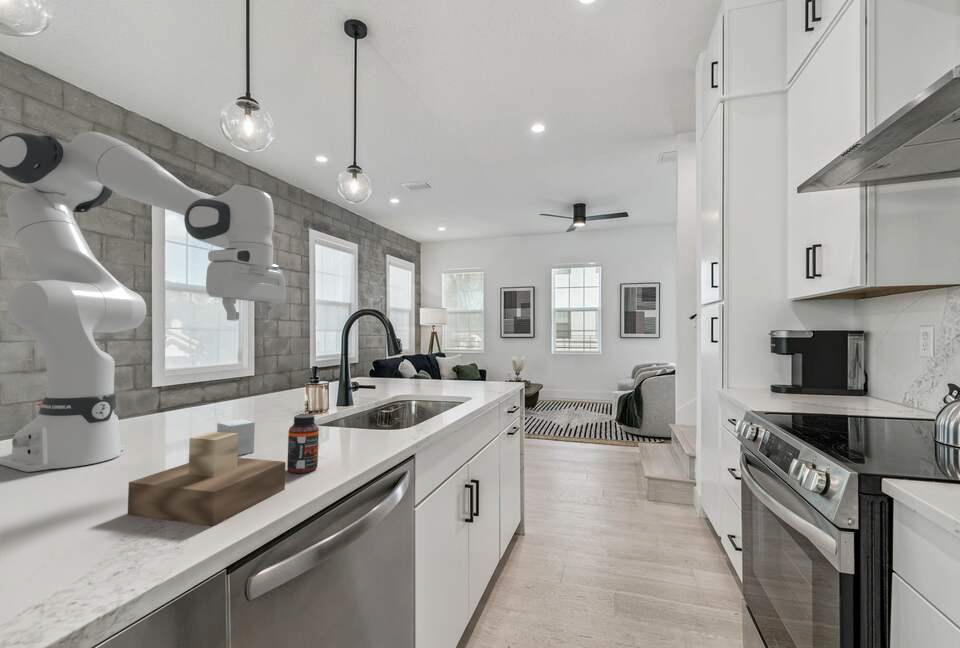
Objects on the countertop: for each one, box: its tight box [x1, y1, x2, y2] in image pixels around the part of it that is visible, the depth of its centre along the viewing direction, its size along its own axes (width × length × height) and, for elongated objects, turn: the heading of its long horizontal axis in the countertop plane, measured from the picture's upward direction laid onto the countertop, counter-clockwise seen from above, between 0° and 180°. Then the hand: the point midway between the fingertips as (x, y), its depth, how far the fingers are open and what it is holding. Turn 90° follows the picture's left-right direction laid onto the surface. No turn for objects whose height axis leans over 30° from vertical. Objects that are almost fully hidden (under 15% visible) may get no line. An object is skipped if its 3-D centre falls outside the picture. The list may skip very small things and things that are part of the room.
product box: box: [216, 418, 256, 456], centre depth 104 cm, size 6×6×7 cm
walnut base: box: [127, 457, 286, 527], centre depth 74 cm, size 16×16×5 cm
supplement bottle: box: [286, 413, 320, 474], centre depth 92 cm, size 6×6×11 cm
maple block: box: [188, 431, 239, 477], centre depth 75 cm, size 5×5×6 cm
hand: (249, 321), depth 97 cm, fingers open, 8 cm apart
